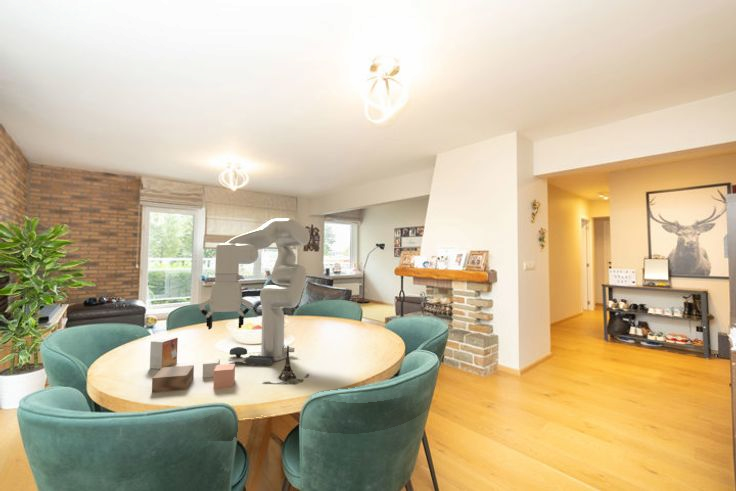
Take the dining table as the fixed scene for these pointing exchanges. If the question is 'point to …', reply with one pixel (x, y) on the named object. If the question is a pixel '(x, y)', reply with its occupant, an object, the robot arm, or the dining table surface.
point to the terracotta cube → (224, 376)
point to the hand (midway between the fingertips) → (225, 327)
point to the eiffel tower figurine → (288, 374)
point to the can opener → (250, 357)
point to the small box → (163, 352)
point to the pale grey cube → (210, 367)
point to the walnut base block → (173, 378)
